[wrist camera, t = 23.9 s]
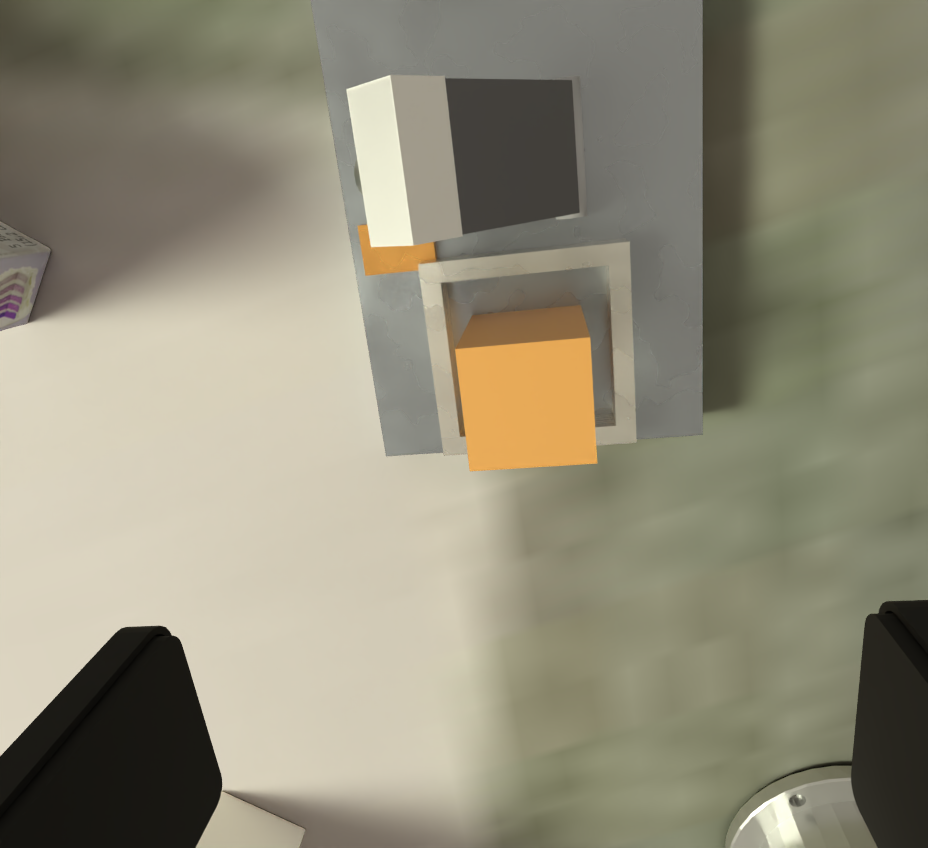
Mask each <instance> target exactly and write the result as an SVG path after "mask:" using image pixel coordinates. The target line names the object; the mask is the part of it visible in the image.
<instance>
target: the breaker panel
mask: <svg viewBox="0 0 928 848" xmlns="http://www.w3.org/2000/svg"><path fill="white" fill-rule="evenodd" d="M311 6H312V12H313V18H314V24H315V30H316V36H317V42H318V48H319V54H320V60H321V66H322V72H323V78H324V84H325V90H326V96H327V102H328V108H329V114H330V120H331V126H332V132H333V139H334V145H335V151H336V157H337V163H338V169H339V175H340V181H341V187H342V193H343V199H344V205H345V211H346V217H347V223H348V229H349V235H350V241H351V247H352V253H353V259H354V265H355V271H356V278H357V284H358V290H359V296H360V302H361V308H362V314H363V320H364V326H365V332H366V338H367V344H368V350H369V356H370V362H371V368H372V374H373V380H374V386H375V392H376V398H377V404H378V410H379V417H380V423H381V429H382V435H383V441H384V447H385V453H386V456H398V455H413V454H428V453H443V454H444V456H445V455H460V454H468V452H467V443H466V435H465V427H464V419H463V410H462V402H461V394H460V386H459V378H458V369H457V361H456V353H455V348H456V346H457V344H458V342H459V340H460V338H461V336H462V334H463V332H464V330H465V328H466V326H467V324H468V322H469V320H470V318H471V316H472V315H480V314H490V313H501V312H512V311H522V310H533V309H543V308H554V307H564V306H575V305H581V308H582V311H583V315H584V318H585V321H586V325H587V328H588V331H589V335H590V340H591V359H592V377H593V396H594V414H595V433H596V445H609V444H623V443H637V439H649V438H664V437H679V436H693V435H703V0H311ZM389 75H420V76H445V78H465V79H533V80H552V79H557V78H562V77H571V76H579V77H580V84H581V102H582V121H583V140H584V158H585V177H586V196H587V214H588V216H585V217H579V218H571V219H556V217H555V218H549V219H544V220H539V221H533V222H528V223H522V224H517V225H512V226H506V227H501V228H495V229H490V230H484V231H479V232H474V233H468V234H463V236H462V237H457V238H451V239H446V240H441V241H435V242H430V243H425V244H419V245H414V246H387V247H371V244H370V238H369V231H368V225H367V218H366V212H365V206H364V199H363V193H362V186H361V180H360V174H359V167H358V161H357V154H356V148H355V142H354V135H353V129H352V122H351V116H350V110H349V103H348V97H347V90H346V89H349V88H352V87H355V86H358V85H361V84H364V83H367V82H370V81H373V80H376V79H379V78H382V77H386V76H389Z"/></svg>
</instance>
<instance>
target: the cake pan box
mask: <svg viewBox="0 0 928 848" xmlns="http://www.w3.org/2000/svg"><path fill="white" fill-rule="evenodd" d="M50 252H51V250H50V248H48V247H47V246H45V245H43V244H41V243H39V242H38V241H36V240H34V239H32V238H30V237H28V236H26V235H24V234H23V233H21V232H19V231H17V230H15V229H13V228H12V227H10V226H8V225H6V224H4V223H3V222H1V221H0V331H2V330H5V329H9V328H12V327H16V326H19V325H24V324H27V323H28V321H29V317H30V314H31V310H32V308H33V305H34V301H35V298H36V295H37V292H38V289H39V286H40V283H41V280H42V277H43V274H44V270H45V267H46V264H47V261H48V258H49V255H50Z"/></svg>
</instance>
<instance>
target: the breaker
mask: <svg viewBox="0 0 928 848" xmlns="http://www.w3.org/2000/svg"><path fill="white" fill-rule="evenodd" d="M346 90H347V97H348V103H349V110H350V116H351V122H352V129H353V135H354V142H355V148H356V154H357V161H358V167H359V174H360V180H361V186H362V193H363V199H364V206H365V212H366V218H367V225H368V231H369V238H370V244H371V247H387V246H414V245H419V244H425V243H430V242H435V241H441V240H446V239H451V238H457V237H462V236H463V234H468V233H474V232H479V231H484V230H490V229H495V228H501V227H506V226H512V225H517V224H522V223H528V222H533V221H539V220H544V219H549V218H555V217H556V219H571V218H579V217H585V216H588V214H587V196H586V177H585V158H584V140H583V121H582V102H581V84H580V77H579V76H571V77H562V78H557V79H552V80H533V79H465V78H445V76H420V75H389V76H386V77H382V78H379V79H376V80H373V81H370V82H367V83H364V84H361V85H358V86H355V87H352V88H349V89H346Z"/></svg>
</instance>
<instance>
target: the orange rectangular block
mask: <svg viewBox="0 0 928 848" xmlns="http://www.w3.org/2000/svg"><path fill="white" fill-rule="evenodd" d="M455 353H456V361H457V369H458V378H459V386H460V394H461V402H462V410H463V419H464V427H465V435H466V443H467V452H468V460H469V468H470V471H482V470H498V469H514V468H530V467H546V466H562V465H578V464H594V463H597V451H596V433H595V414H594V396H593V377H592V359H591V340H590V335H589V331H588V328H587V325H586V321H585V318H584V315H583V311H582V308H581V305H575V306H564V307H554V308H543V309H533V310H522V311H512V312H501V313H490V314H480V315H472V316H471V318H470V320H469V322H468V324H467V326H466V328H465V330H464V332H463V334H462V336H461V338H460V340H459V342H458V344H457V346H456V348H455Z"/></svg>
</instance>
